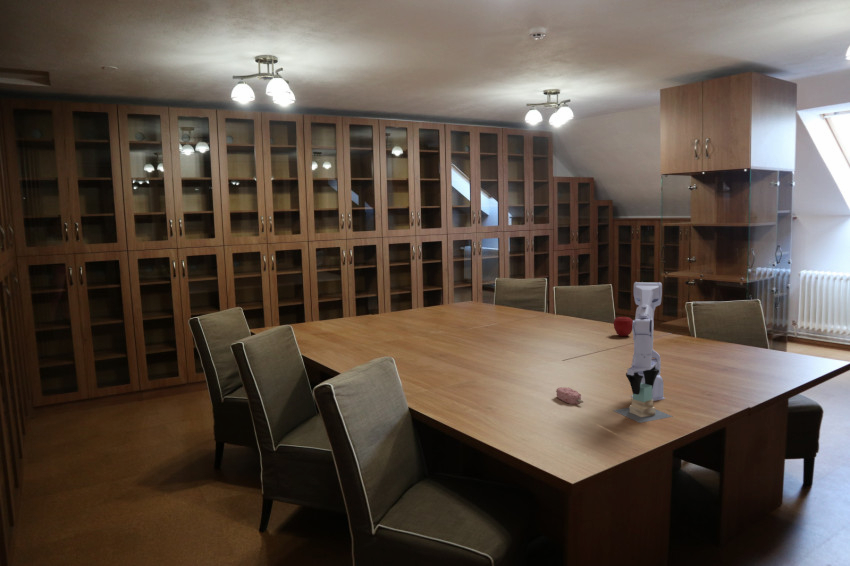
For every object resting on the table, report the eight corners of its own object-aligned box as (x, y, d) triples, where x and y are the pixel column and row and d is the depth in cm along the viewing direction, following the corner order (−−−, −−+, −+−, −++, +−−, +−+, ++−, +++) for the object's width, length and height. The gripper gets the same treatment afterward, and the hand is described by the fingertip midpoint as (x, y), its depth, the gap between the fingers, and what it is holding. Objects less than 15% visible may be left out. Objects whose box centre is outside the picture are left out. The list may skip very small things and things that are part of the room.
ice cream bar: (574, 398, 215) (552, 387, 229) (574, 409, 215) (553, 397, 229) (589, 395, 217) (566, 384, 231) (589, 406, 217) (566, 394, 231)
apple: (630, 338, 326) (630, 317, 324) (611, 337, 332) (611, 316, 330) (635, 334, 335) (635, 314, 334) (616, 333, 341) (616, 313, 339)
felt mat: (644, 405, 215) (644, 404, 215) (673, 417, 202) (673, 416, 202) (612, 411, 210) (612, 410, 210) (640, 423, 197) (640, 422, 197)
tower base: (643, 409, 210) (643, 402, 210) (655, 414, 205) (655, 407, 204) (629, 412, 208) (629, 405, 208) (641, 417, 202) (641, 410, 202)
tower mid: (641, 403, 209) (641, 396, 209) (653, 406, 205) (653, 399, 205) (631, 405, 207) (631, 399, 207) (643, 409, 203) (643, 402, 202)
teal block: (640, 396, 209) (640, 382, 208) (651, 399, 205) (652, 385, 205) (632, 399, 206) (632, 385, 206) (644, 402, 203) (644, 388, 202)
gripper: (644, 348, 211) (644, 384, 213) (619, 354, 203) (619, 393, 204) (662, 351, 206) (662, 389, 207) (637, 358, 197) (637, 397, 199)
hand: (642, 391), depth 205 cm, fingers open, 7 cm apart
